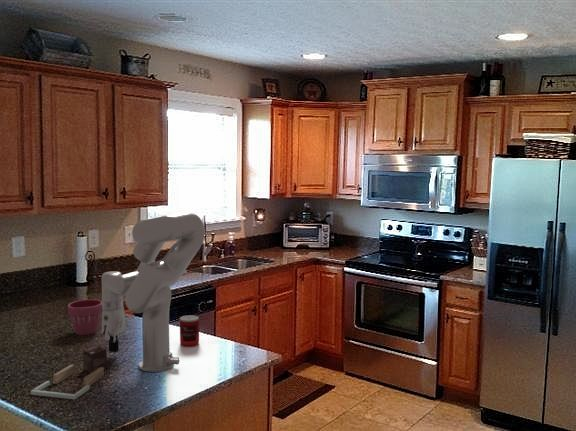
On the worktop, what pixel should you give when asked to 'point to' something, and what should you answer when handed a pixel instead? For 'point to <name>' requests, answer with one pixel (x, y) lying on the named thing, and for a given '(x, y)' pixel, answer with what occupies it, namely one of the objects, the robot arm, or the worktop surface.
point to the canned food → (189, 330)
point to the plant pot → (85, 315)
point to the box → (94, 358)
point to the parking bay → (56, 394)
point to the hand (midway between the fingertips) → (113, 351)
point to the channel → (71, 370)
